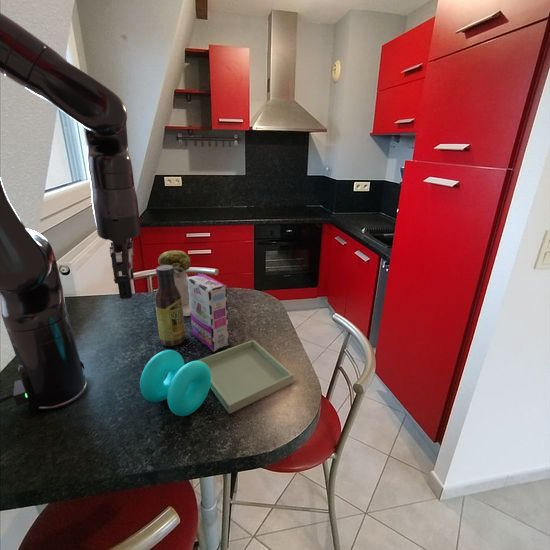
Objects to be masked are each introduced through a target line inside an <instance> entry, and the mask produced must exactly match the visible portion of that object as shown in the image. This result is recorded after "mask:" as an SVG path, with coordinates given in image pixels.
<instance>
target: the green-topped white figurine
mask: <svg viewBox="0 0 550 550" xmlns="http://www.w3.org/2000/svg"><path fill="white" fill-rule="evenodd" d="M157 263H158V264H159V266H163V265H171V266H173V267H174V281H175V285H176V287H177V289H178V291H179V293H180V295H181V297H182V307H183V316H184V317H191V316H190V306H189V296H188V285H187V278H188V277H189V275H188V273H187V272H186V271H188V270H189V269H190V268H191V267H190V266H191V258H190V257H189V255H188V254H187V253H186V252H185V251H183V250H177V249H175V250H168V251H164V252H162V253H161V254H159V257H158V259H157Z"/></svg>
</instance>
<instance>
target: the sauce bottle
mask: <svg viewBox="0 0 550 550" xmlns="http://www.w3.org/2000/svg"><path fill="white" fill-rule="evenodd" d="M155 274H156V276H157V285H158V288H157V289H156V291H155V294H154V301H155V312H156V319H157V328H158V336H159V338H160V343H161V344H162V345H163V346H165V347H174V346H178V345H181V344H182V343H183V342H184V341H185V337H186V336H185V335H186V328H185V318H184V317H185V316H183V307H182V297H181V295H180V293H179V291H178V289H177V287H176V285H175V281H174V267H173V266H171V265H163V266H162V265H159V266H157V267H156V268H155Z"/></svg>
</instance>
